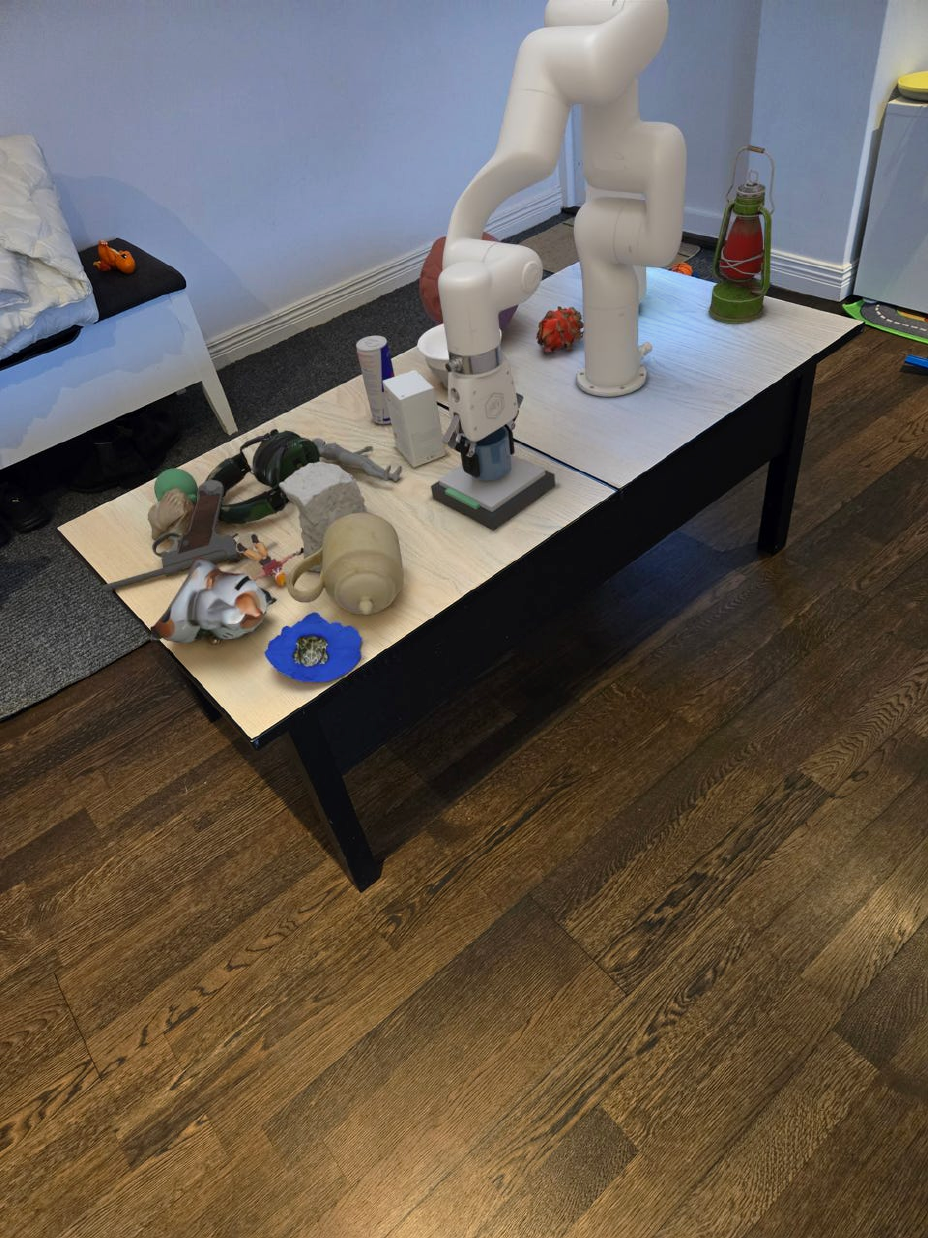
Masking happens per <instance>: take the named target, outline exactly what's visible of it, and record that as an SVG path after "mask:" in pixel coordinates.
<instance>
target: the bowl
mask: <svg viewBox="0 0 928 1238" xmlns="http://www.w3.org/2000/svg"><path fill="white" fill-rule="evenodd" d="M502 335H503V333H502V332H501V330H500V340H502ZM416 346H417V350H418V352H419V353H420V354H421V355H423V356H424V358H425V362H426V364H427V366H428V368H429V370H430V371H431V372H432V374H433V375H434V376H435V377H436V378H437V379H438V380H439V381H440V382H442V385H443V387H444V388H446V389H447V390H448V375H449V372H448V371H447V370H446V367H445V364H446V363H448V362H449V355H448V348H447V341H446V335H445V328H444V323H443V324H441V325H438V326H437V325H436V326H434V327H432V328H430V329H428V330H427V331H425V332H424V333H422V335H421V336H420V337H419V338H418V341H417V344H416Z"/></svg>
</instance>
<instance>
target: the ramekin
mask: <svg viewBox="0 0 928 1238" xmlns="http://www.w3.org/2000/svg"><path fill="white" fill-rule="evenodd" d="M468 441H469V440H468V439H467V438H466V441H465V446H466V447H467V446H468ZM474 453H476V454H477V455H478V461H479V468H480V476H479V477H477V478H476V477H474V476H472V475H471V476H472V477H474V478H476V479H479V480H494V479H498V478H501V477H503V476H505V475H506V474H507V473H508V472H509V471H510V470H511V467H512V464H511V453H510V444H509V435H508V430H507V428H506V427H505V426H502V427H500V428H499V429H497V430H496V431H494V432H493V433H491V434H489V435H488V436H486V437H485V438H483V439H481V440H479V441H477V442H476V446H475V451H474Z"/></svg>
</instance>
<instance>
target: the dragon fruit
mask: <svg viewBox="0 0 928 1238" xmlns="http://www.w3.org/2000/svg"><path fill="white" fill-rule="evenodd" d="M582 320H583V315H582V314H581V312H580V311H578V310H576V308H575V307H574V306H570V307H568V308H566V307H563V308H562V306H560V305H558V306H557V309H556V310H547V312H546V314H545V316H544V317H543V318H542V319H541V321H540V322H538V325H537V326H538V327H537V328H538V329H537V333H536V336H535V340H537V341H536V342H537V344H538V345H539V346H540V347H541V348H542V347H545V348H544V349H543V353H544V354H547V353H552V354H553V353H555V352H557V351H558V350H559V349H564V350H565V351H566V352H569V351H570V350H571V349H572V348H573V347H574V342H575V340H577V341H579V340H582V339H584V325H583V321H582ZM581 329H583V330H582V331H581Z"/></svg>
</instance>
